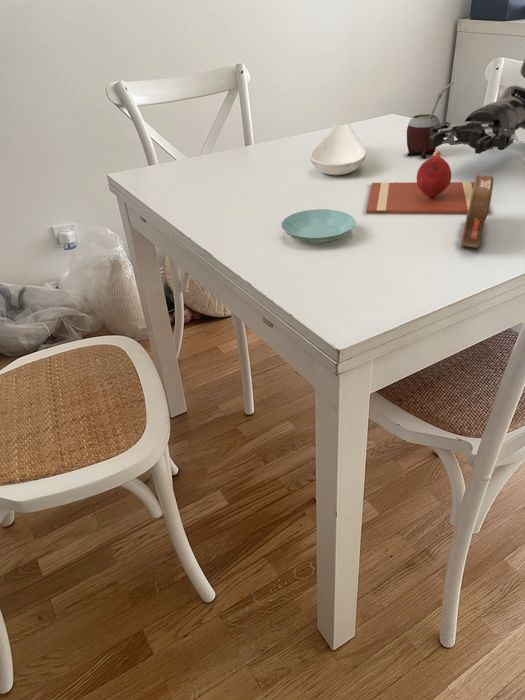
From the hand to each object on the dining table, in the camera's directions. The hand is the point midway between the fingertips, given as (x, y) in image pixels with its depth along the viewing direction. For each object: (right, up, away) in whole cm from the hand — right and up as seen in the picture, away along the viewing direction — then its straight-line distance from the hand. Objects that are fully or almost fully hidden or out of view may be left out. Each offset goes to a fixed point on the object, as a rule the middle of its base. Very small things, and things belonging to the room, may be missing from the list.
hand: (454, 145), depth 96 cm
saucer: (-25, -18, -8) cm, 32 cm away
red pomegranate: (-4, -10, 0) cm, 10 cm away
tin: (-2, -19, -13) cm, 23 cm away
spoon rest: (-17, +5, +24) cm, 30 cm away
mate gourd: (+2, +7, +25) cm, 26 cm away
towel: (-5, -9, +2) cm, 10 cm away
